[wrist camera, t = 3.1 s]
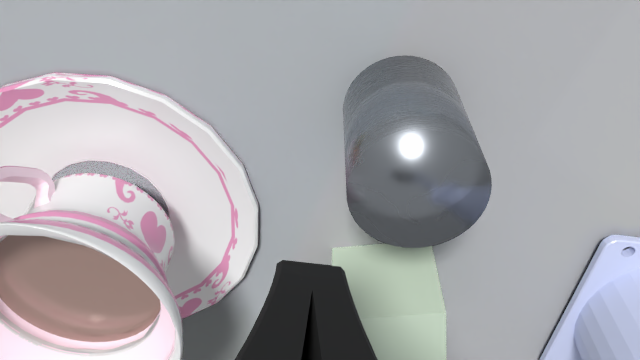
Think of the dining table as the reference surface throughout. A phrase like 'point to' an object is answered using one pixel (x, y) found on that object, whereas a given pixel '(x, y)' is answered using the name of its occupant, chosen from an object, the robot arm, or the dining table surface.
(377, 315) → the sage block
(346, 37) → the dining table surface
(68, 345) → the teacup
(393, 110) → the grey canister
